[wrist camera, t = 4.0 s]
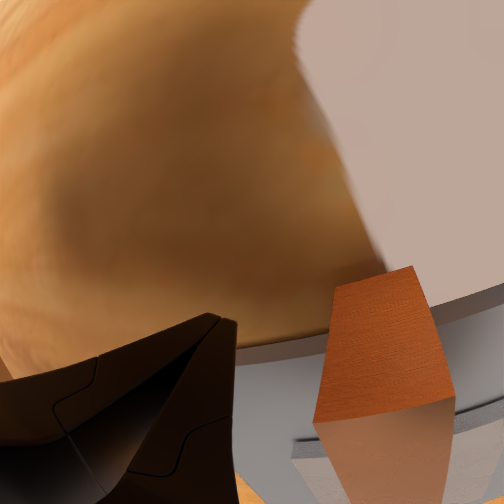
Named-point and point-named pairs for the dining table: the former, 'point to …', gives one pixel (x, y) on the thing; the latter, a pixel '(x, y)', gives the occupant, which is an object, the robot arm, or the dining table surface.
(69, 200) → the dining table surface
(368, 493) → the flange plate
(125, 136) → the dining table surface
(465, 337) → the slate board
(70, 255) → the dining table surface
